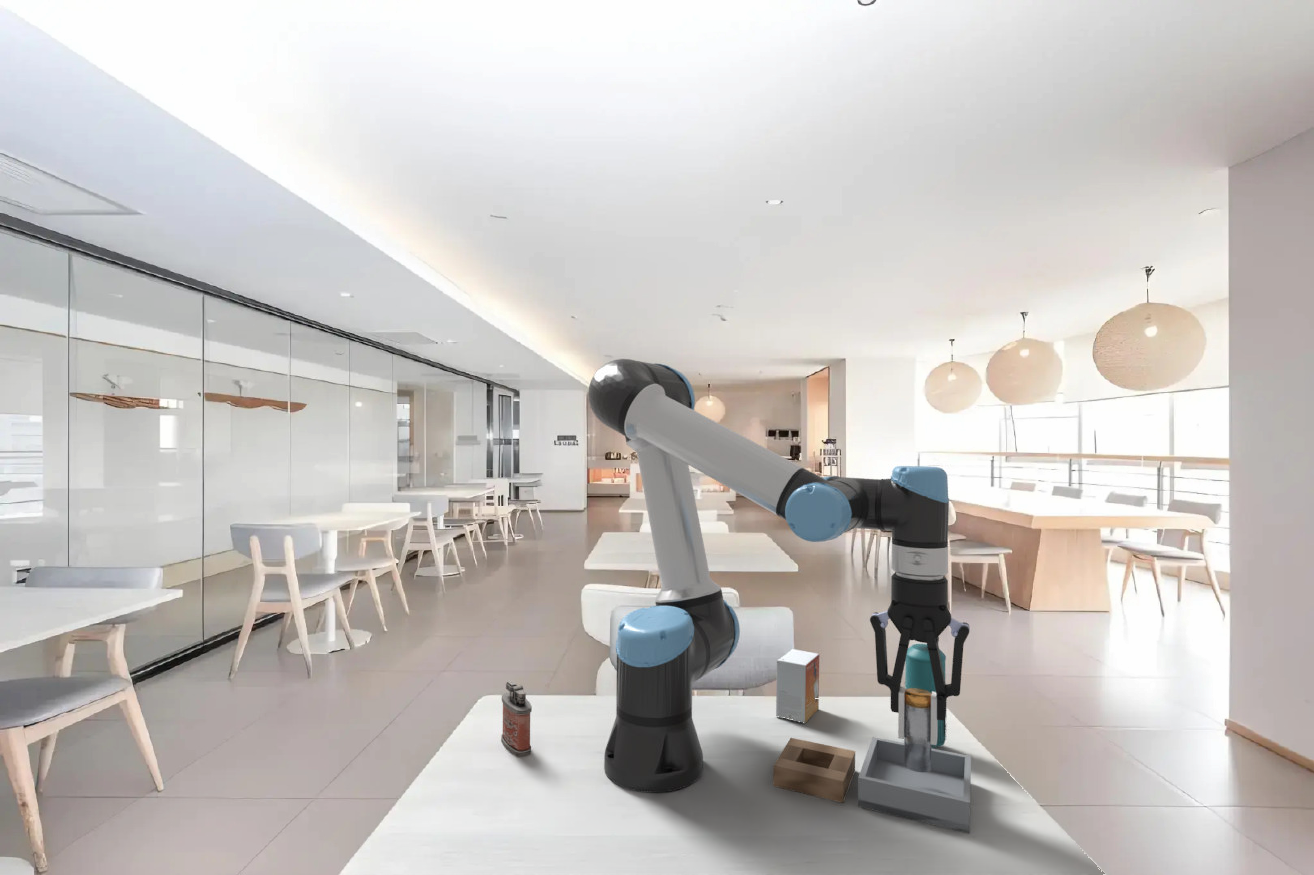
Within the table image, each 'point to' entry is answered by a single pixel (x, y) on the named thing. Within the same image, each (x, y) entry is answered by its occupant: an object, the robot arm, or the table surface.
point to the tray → (916, 786)
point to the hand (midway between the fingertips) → (917, 737)
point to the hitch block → (815, 769)
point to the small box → (797, 685)
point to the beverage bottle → (924, 678)
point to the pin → (917, 730)
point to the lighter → (516, 720)
